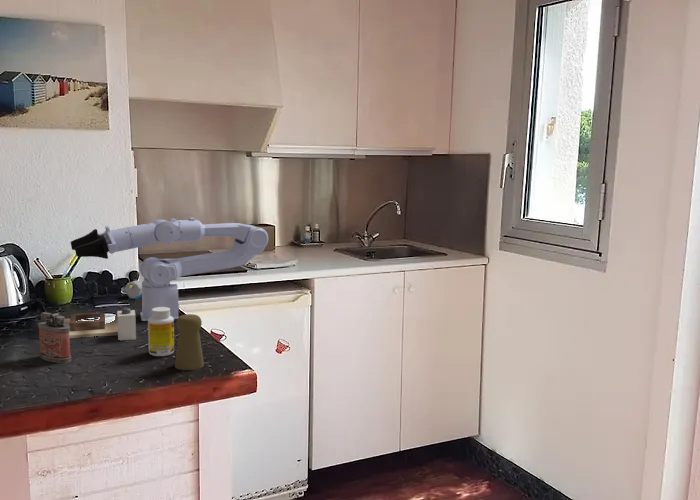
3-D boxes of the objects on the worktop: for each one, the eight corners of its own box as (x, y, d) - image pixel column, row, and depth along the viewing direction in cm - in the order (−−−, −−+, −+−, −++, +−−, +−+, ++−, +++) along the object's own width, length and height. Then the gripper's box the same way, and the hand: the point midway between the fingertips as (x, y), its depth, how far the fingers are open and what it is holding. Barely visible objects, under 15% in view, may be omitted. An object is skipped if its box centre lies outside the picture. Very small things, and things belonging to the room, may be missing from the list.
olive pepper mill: (200, 370, 139) (199, 319, 137) (171, 369, 139) (170, 318, 138) (206, 361, 145) (206, 312, 143) (179, 360, 145) (178, 311, 143)
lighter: (75, 359, 144) (73, 314, 142) (62, 363, 141) (60, 318, 139) (48, 353, 147) (46, 309, 146) (35, 357, 144) (33, 313, 143)
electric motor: (119, 299, 199) (118, 282, 198) (126, 295, 203) (126, 279, 203) (140, 300, 198) (140, 284, 197) (148, 297, 202) (147, 281, 201)
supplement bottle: (176, 355, 149) (176, 310, 147) (151, 358, 146) (150, 313, 144) (171, 348, 153) (171, 305, 152) (146, 351, 151) (145, 307, 149)
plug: (135, 333, 164) (134, 306, 163) (136, 339, 160) (135, 311, 159) (118, 334, 163) (117, 306, 162) (118, 340, 158) (117, 312, 157)
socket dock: (117, 318, 177) (116, 308, 177) (118, 335, 163) (117, 324, 162) (59, 321, 173) (59, 311, 172) (55, 339, 158) (54, 327, 157)
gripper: (120, 218, 178) (66, 228, 172) (132, 228, 166) (74, 239, 160) (124, 243, 180) (71, 254, 174) (137, 255, 168) (80, 267, 162)
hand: (73, 249), depth 167 cm, fingers open, 7 cm apart
